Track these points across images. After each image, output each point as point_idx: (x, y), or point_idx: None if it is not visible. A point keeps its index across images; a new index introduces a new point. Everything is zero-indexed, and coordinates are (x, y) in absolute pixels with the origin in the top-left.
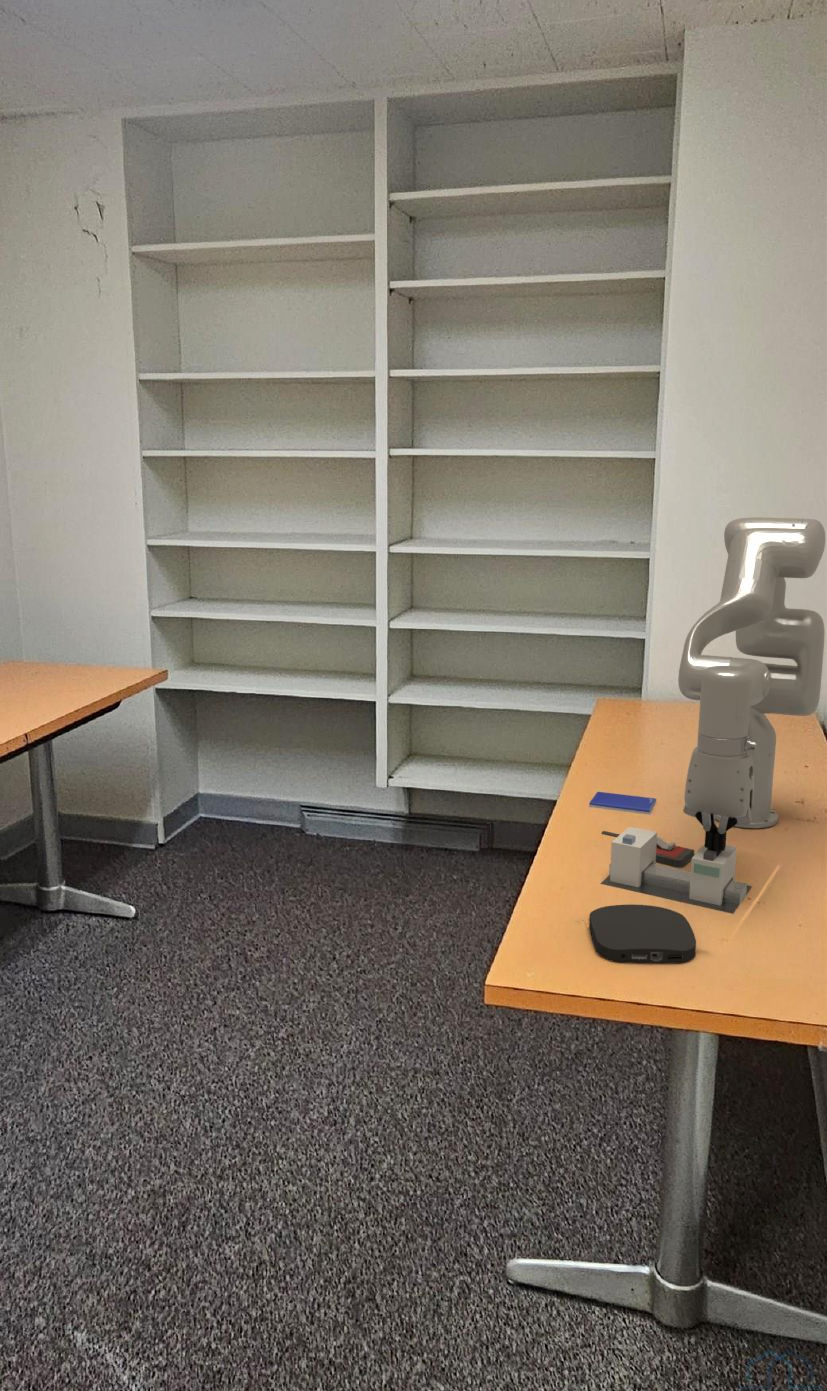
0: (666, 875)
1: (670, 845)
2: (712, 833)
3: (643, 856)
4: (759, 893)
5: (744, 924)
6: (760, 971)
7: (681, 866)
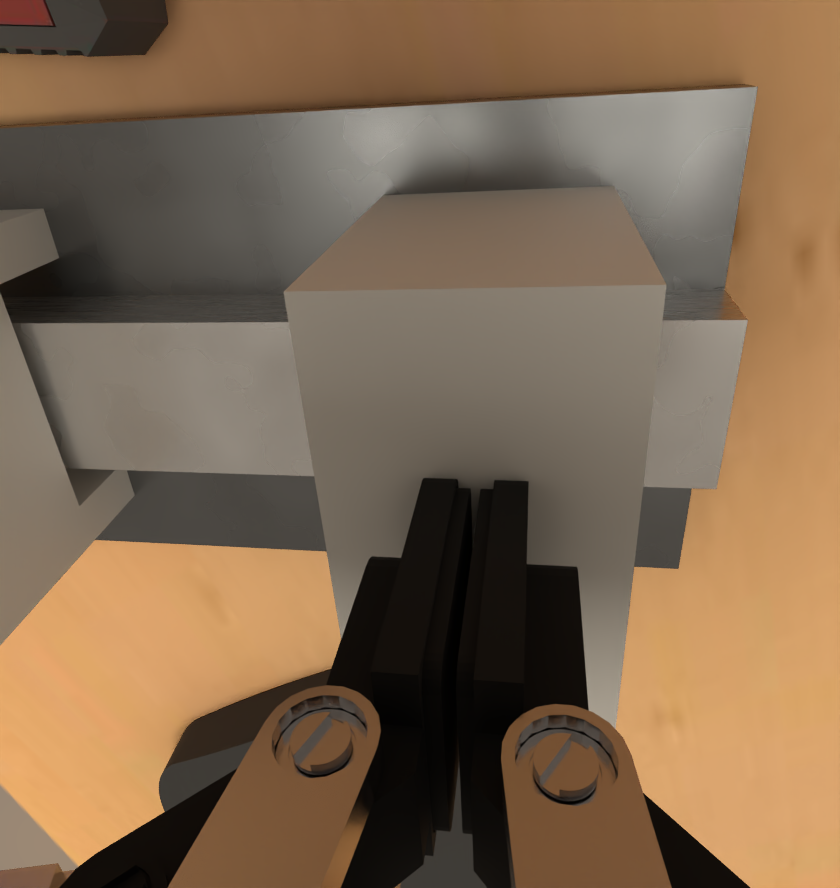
0: (205, 456)
1: None
2: (440, 828)
3: (8, 551)
4: (808, 75)
5: (740, 568)
6: (836, 856)
7: (135, 29)
